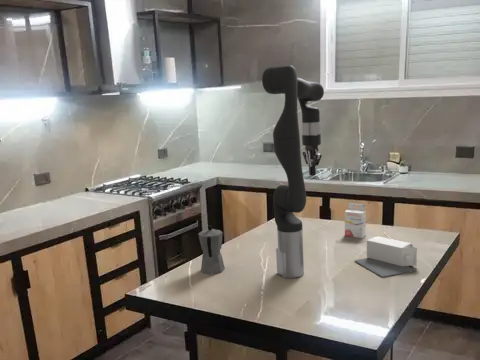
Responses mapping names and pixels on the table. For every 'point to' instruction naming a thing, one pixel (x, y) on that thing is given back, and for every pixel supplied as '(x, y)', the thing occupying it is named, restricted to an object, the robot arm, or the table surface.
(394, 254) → the milk carton
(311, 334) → the table surface
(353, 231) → the ink cartridge box
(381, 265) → the mat
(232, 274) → the table surface
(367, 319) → the table surface
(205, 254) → the coffeepot
